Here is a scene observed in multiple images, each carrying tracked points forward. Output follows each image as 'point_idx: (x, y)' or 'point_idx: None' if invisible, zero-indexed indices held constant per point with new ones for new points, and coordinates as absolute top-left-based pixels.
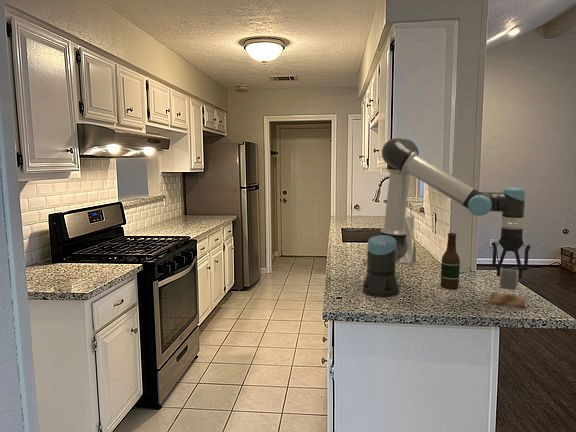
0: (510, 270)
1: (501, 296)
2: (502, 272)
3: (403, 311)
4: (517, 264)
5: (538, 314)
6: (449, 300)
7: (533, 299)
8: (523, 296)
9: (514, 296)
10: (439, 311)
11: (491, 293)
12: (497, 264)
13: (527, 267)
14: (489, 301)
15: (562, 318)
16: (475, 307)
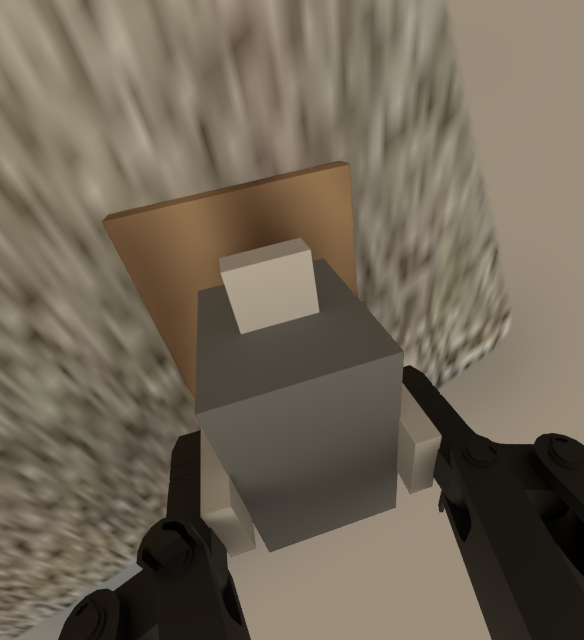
0: (325, 420)
1: (215, 279)
2: (264, 531)
3: (12, 616)
4: (478, 597)
5: (406, 361)
6: (10, 472)
7: (401, 107)
8: (345, 167)
9: (289, 214)
10: (96, 555)
11: (124, 258)
12: (163, 626)
13: (571, 515)
14: (193, 393)
15: (483, 341)
16: (170, 458)
